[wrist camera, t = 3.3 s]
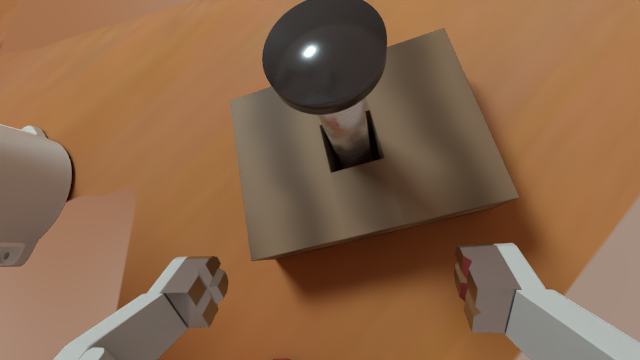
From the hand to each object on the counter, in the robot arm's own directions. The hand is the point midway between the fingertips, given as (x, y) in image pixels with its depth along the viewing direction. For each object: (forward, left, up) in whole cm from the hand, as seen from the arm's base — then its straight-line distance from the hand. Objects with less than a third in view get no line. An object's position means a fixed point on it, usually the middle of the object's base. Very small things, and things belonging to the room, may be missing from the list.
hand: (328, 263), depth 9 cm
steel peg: (+2, +9, -16) cm, 19 cm away
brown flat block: (+2, +9, -16) cm, 19 cm away
